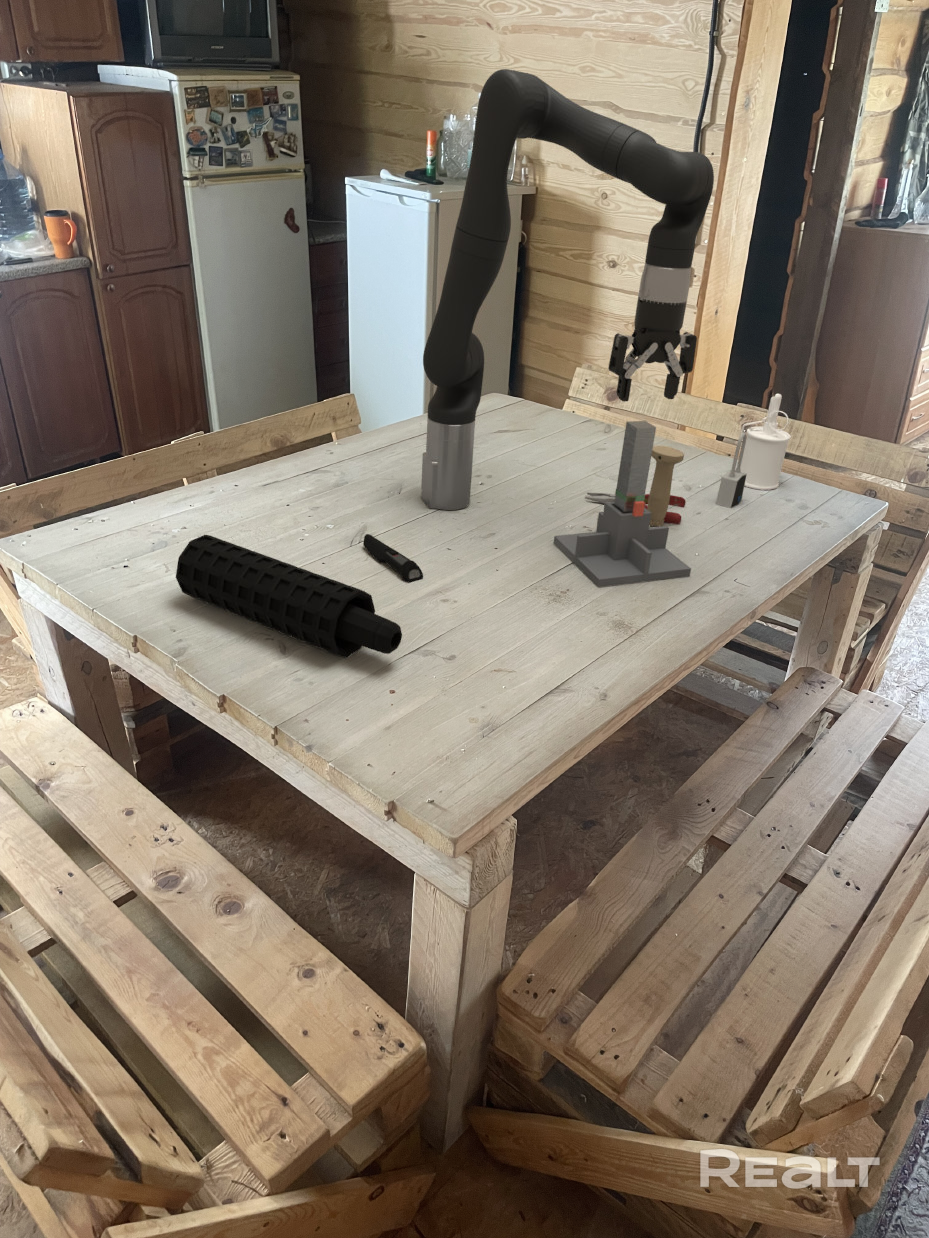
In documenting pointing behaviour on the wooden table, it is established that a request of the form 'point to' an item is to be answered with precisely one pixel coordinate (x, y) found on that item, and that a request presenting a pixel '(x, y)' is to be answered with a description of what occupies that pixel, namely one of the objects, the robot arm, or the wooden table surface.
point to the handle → (662, 482)
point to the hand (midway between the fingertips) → (645, 399)
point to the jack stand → (623, 549)
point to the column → (634, 465)
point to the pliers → (669, 517)
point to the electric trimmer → (393, 559)
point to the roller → (284, 598)
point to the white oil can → (765, 450)
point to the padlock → (733, 480)
